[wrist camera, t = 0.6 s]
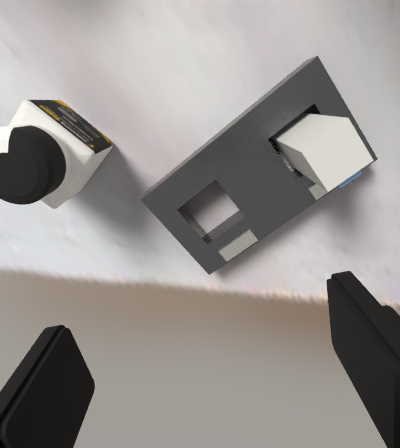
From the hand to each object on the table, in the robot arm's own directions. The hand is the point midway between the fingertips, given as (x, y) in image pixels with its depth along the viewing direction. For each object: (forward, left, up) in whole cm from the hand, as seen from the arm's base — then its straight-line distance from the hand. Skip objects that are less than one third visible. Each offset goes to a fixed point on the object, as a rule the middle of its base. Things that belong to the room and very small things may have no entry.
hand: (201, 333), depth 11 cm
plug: (-11, +4, -26) cm, 28 cm away
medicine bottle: (+9, -11, -26) cm, 30 cm away
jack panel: (-5, +4, -26) cm, 27 cm away
